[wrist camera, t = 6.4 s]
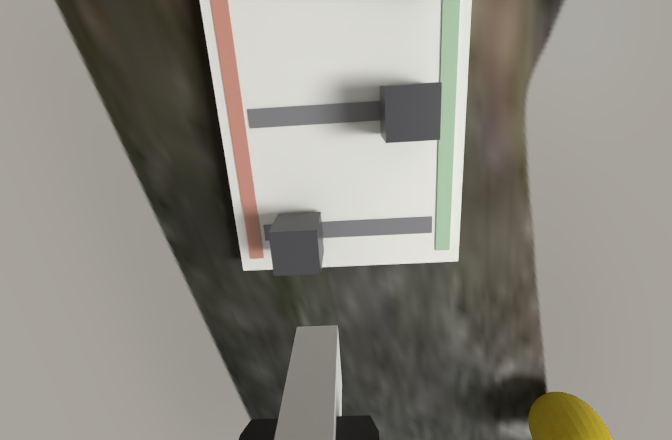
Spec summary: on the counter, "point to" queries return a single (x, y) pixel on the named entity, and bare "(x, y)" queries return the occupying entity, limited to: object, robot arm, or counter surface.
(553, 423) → the lemon
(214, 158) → the counter surface
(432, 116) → the block
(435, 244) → the breaker panel
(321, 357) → the robot arm
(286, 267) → the switch
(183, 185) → the counter surface
